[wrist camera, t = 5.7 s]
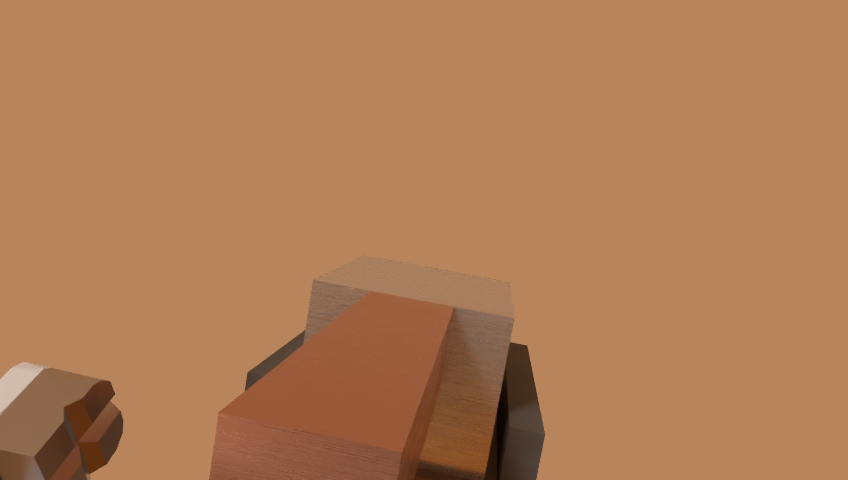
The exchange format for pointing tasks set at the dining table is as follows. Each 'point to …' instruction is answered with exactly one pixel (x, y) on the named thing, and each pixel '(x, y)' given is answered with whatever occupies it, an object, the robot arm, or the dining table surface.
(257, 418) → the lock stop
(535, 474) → the tall post
